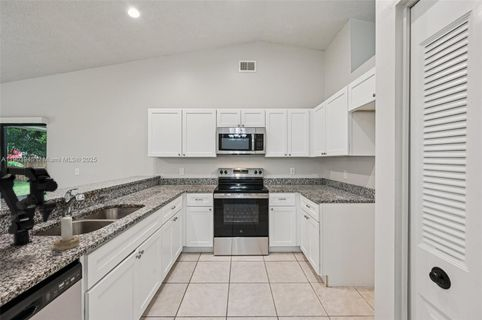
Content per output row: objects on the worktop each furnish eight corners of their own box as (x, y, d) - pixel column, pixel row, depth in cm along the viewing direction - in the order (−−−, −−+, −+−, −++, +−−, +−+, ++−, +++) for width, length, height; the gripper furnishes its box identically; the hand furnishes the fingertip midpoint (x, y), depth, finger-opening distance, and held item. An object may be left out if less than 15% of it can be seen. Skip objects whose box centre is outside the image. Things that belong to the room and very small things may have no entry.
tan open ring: (49, 248, 120) (49, 242, 120) (68, 241, 130) (68, 235, 130) (65, 250, 118) (65, 244, 117) (83, 243, 127) (83, 237, 127)
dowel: (59, 247, 121) (59, 219, 121) (64, 244, 126) (64, 217, 125) (69, 247, 122) (69, 219, 121) (74, 243, 126) (73, 216, 126)
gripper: (4, 193, 118) (6, 225, 119) (33, 194, 114) (34, 227, 114) (30, 189, 129) (30, 219, 130) (57, 191, 124) (58, 221, 125)
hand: (38, 221), depth 124 cm, fingers open, 9 cm apart
